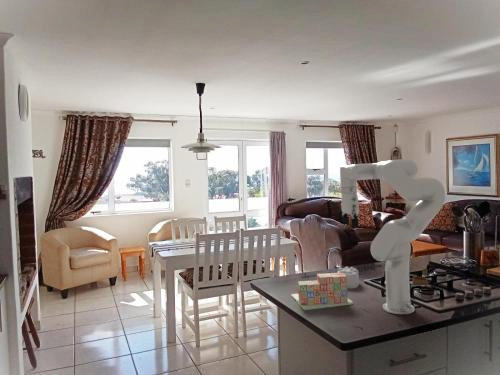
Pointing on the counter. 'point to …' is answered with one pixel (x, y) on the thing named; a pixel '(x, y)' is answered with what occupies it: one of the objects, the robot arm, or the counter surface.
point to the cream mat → (295, 297)
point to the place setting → (421, 279)
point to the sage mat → (323, 305)
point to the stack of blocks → (324, 289)
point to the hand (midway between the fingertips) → (350, 225)
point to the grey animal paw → (350, 276)
